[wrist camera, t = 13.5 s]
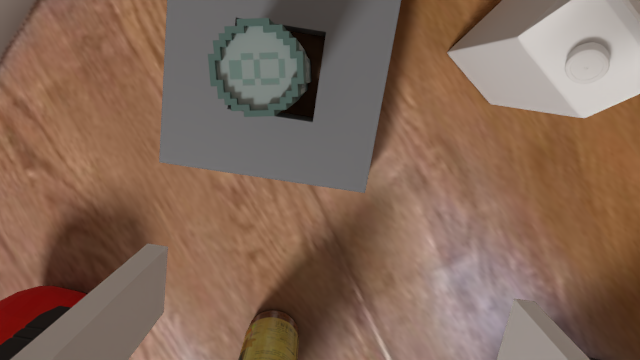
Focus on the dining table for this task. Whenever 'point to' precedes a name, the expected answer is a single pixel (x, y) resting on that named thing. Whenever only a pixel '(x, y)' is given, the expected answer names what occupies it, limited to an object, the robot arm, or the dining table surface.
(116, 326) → the robot arm
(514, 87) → the milk carton
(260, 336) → the sauce bottle
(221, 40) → the can
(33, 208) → the dining table surface
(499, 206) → the dining table surface
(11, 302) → the tomato
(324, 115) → the socket block
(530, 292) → the dining table surface
